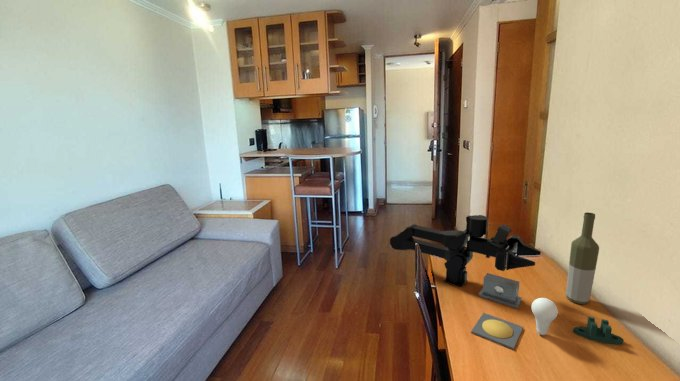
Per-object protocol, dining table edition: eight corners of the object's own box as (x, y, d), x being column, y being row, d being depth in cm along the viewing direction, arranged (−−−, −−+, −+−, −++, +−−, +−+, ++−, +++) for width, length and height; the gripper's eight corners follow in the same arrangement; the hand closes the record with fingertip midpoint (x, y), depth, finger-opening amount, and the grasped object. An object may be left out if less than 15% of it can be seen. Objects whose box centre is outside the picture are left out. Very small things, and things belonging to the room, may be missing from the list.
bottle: (595, 307, 99) (609, 217, 92) (570, 305, 101) (582, 216, 94) (583, 295, 106) (596, 210, 99) (560, 293, 107) (571, 210, 101)
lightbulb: (558, 342, 85) (563, 306, 82) (533, 340, 86) (537, 305, 83) (548, 328, 91) (552, 294, 88) (525, 326, 92) (529, 292, 89)
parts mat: (471, 332, 90) (471, 330, 90) (483, 314, 98) (483, 312, 98) (513, 350, 83) (513, 347, 83) (522, 328, 91) (523, 326, 91)
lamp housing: (478, 296, 108) (479, 277, 106) (484, 288, 112) (485, 270, 110) (517, 308, 100) (519, 289, 98) (521, 300, 104) (523, 281, 103)
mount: (574, 337, 87) (576, 321, 86) (571, 327, 91) (573, 312, 90) (625, 349, 82) (628, 332, 81) (620, 338, 86) (623, 322, 85)
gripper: (478, 232, 99) (534, 244, 89) (495, 217, 113) (546, 225, 103) (475, 264, 102) (530, 279, 92) (492, 246, 115) (542, 257, 105)
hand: (537, 258), depth 98 cm, fingers open, 9 cm apart
